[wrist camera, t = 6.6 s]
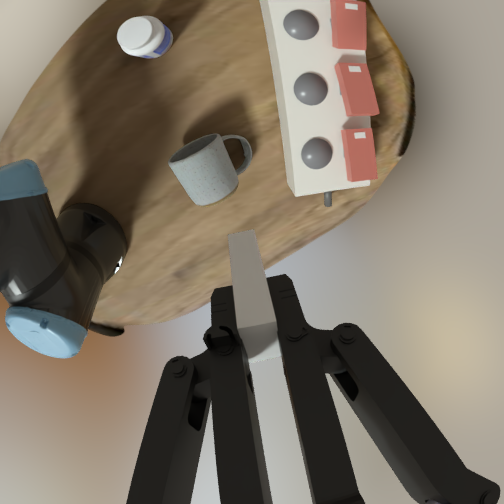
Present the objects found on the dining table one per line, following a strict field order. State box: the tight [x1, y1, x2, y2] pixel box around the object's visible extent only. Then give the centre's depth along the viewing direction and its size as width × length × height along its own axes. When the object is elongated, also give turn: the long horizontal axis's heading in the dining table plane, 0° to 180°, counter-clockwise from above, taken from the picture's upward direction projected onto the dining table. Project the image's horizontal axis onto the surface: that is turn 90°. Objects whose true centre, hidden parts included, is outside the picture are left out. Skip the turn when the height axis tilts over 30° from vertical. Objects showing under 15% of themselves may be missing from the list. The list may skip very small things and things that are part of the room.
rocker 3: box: [341, 128, 378, 182], centre depth 32 cm, size 4×7×2 cm, turn 9°
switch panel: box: [260, 0, 371, 207], centre depth 32 cm, size 12×34×6 cm, turn 9°
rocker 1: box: [330, 0, 366, 50], centre depth 22 cm, size 4×7×2 cm, turn 9°
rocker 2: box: [334, 63, 380, 117], centre depth 27 cm, size 4×7×2 cm, turn 9°
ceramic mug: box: [168, 133, 252, 207], centre depth 35 cm, size 11×8×8 cm
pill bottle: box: [117, 16, 173, 59], centre depth 22 cm, size 5×5×10 cm
